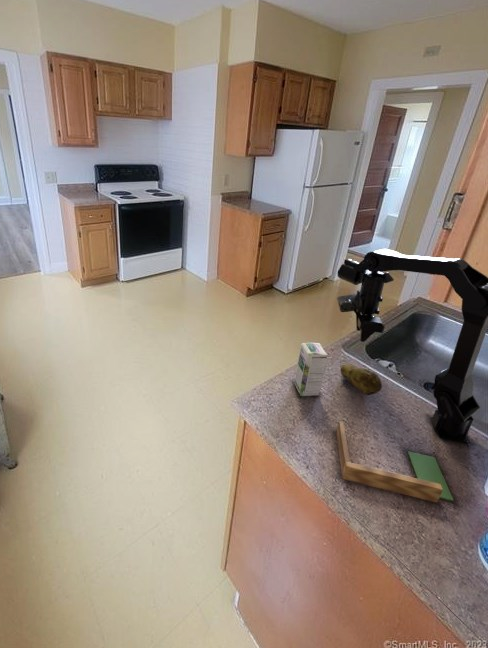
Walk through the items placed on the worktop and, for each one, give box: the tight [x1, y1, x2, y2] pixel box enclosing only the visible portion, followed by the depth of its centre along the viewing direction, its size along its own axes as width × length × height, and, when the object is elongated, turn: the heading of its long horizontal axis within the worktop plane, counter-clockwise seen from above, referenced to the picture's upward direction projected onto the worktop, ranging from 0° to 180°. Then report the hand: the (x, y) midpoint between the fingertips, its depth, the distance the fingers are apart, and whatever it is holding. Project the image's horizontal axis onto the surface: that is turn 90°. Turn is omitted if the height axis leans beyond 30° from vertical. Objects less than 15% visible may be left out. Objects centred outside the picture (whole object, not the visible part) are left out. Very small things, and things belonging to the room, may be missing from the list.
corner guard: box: [335, 421, 443, 503], centre depth 72 cm, size 18×12×4 cm
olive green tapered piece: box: [339, 363, 383, 397], centre depth 94 cm, size 8×13×8 cm, turn 177°
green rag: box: [407, 451, 454, 502], centre depth 71 cm, size 6×10×1 cm, turn 165°
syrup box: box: [293, 342, 329, 397], centre depth 92 cm, size 6×6×14 cm
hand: (360, 335), depth 100 cm, fingers open, 6 cm apart
